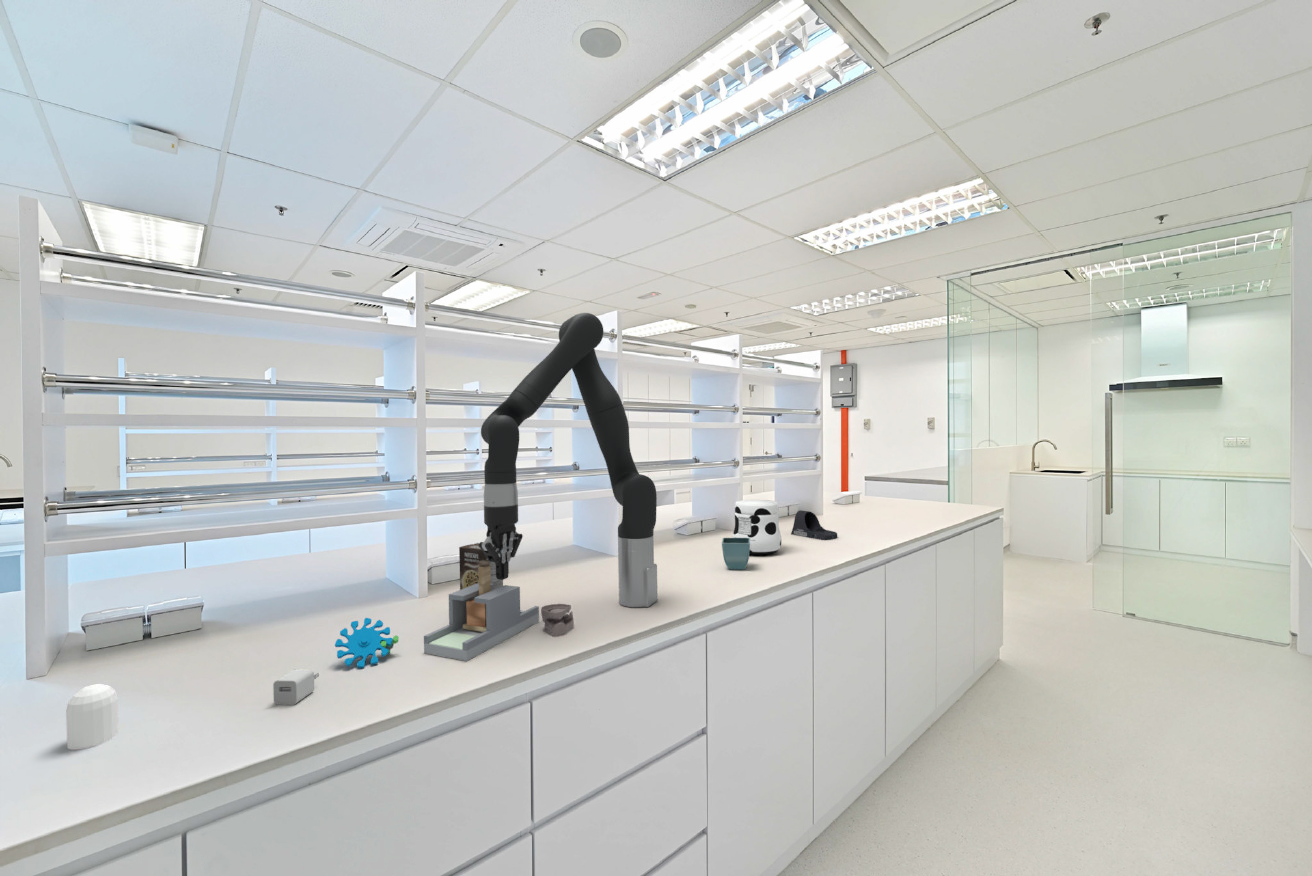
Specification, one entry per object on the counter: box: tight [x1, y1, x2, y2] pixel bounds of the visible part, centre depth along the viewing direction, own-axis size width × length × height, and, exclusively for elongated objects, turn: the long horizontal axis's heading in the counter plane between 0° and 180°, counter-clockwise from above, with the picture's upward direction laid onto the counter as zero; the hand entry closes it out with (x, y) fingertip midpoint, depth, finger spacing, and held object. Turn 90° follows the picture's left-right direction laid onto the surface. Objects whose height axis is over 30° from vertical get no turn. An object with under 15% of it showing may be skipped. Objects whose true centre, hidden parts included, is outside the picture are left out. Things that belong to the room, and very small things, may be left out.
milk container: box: [732, 499, 782, 555], centre depth 199 cm, size 17×17×18 cm
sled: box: [463, 560, 491, 632], centre depth 121 cm, size 6×7×14 cm
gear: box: [334, 617, 400, 669], centre depth 110 cm, size 11×6×10 cm
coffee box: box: [458, 542, 504, 591], centre depth 139 cm, size 9×6×16 cm
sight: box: [790, 510, 838, 541], centre depth 227 cm, size 9×18×10 cm, turn 36°
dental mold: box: [540, 603, 575, 638], centre depth 124 cm, size 8×7×5 cm
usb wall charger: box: [272, 668, 320, 705], centre depth 95 cm, size 4×7×4 cm, turn 177°
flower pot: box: [721, 537, 750, 571], centre depth 177 cm, size 9×9×9 cm
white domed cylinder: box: [65, 683, 120, 751], centre depth 82 cm, size 5×5×8 cm
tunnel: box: [423, 583, 540, 662], centre depth 121 cm, size 11×24×10 cm, turn 157°
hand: (502, 578), depth 126 cm, fingers closed
